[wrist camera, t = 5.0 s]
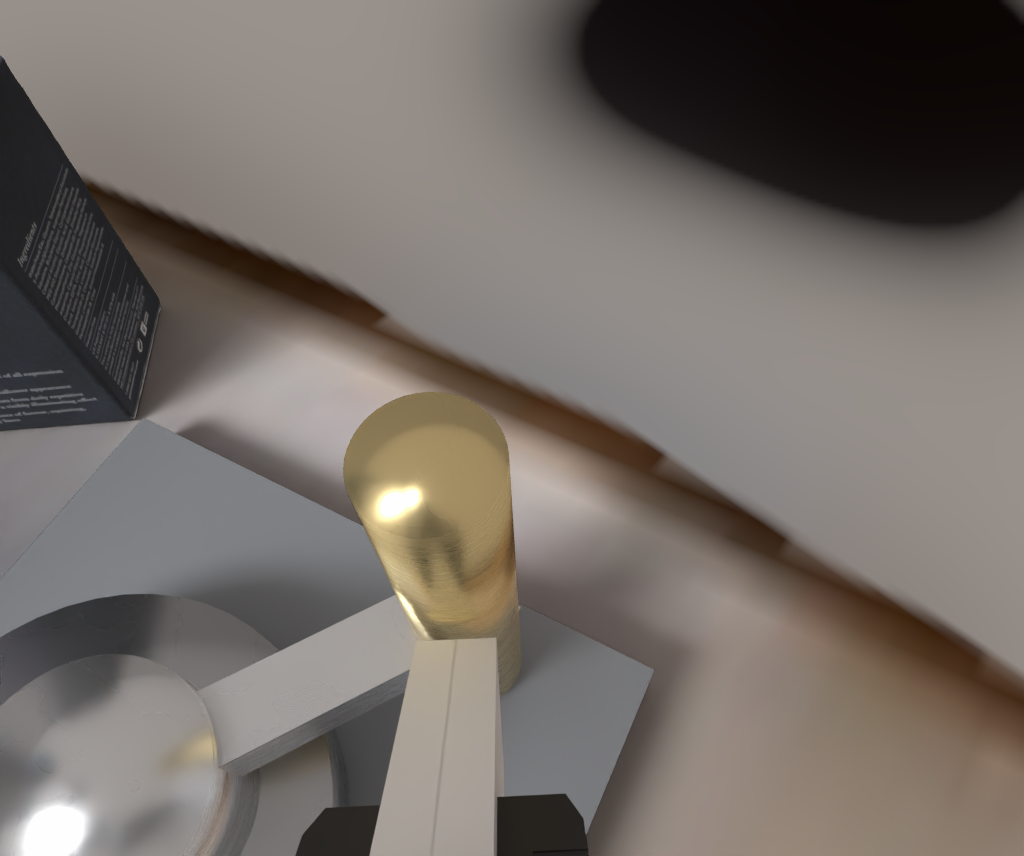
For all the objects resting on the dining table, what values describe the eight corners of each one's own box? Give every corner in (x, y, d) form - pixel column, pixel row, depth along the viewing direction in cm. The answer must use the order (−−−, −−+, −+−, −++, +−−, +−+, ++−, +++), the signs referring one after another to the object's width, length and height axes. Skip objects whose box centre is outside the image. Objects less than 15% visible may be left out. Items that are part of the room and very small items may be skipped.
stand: (-291, 972, 19) (-355, 979, 18) (162, 440, 27) (142, 416, 25) (303, 1511, 15) (279, 1574, 13) (647, 682, 22) (655, 669, 21)
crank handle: (-101, 1279, 15) (-1218, 1960, 5) (-138, 737, 20) (-741, 601, 11) (622, 841, 18) (715, 789, 9) (433, 477, 23) (364, 198, 14)
